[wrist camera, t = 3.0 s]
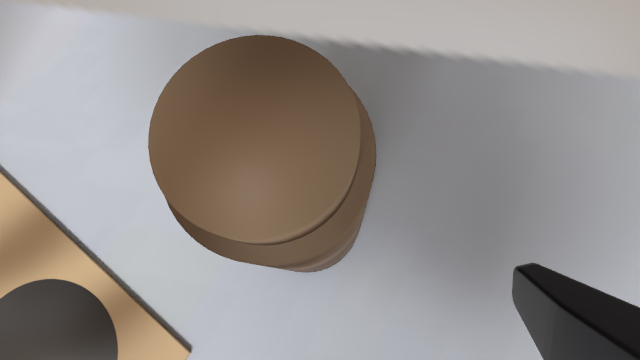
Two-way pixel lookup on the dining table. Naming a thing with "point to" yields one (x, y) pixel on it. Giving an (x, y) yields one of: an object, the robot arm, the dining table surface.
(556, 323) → the robot arm
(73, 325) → the board
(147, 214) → the dining table surface
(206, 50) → the pepper mill
